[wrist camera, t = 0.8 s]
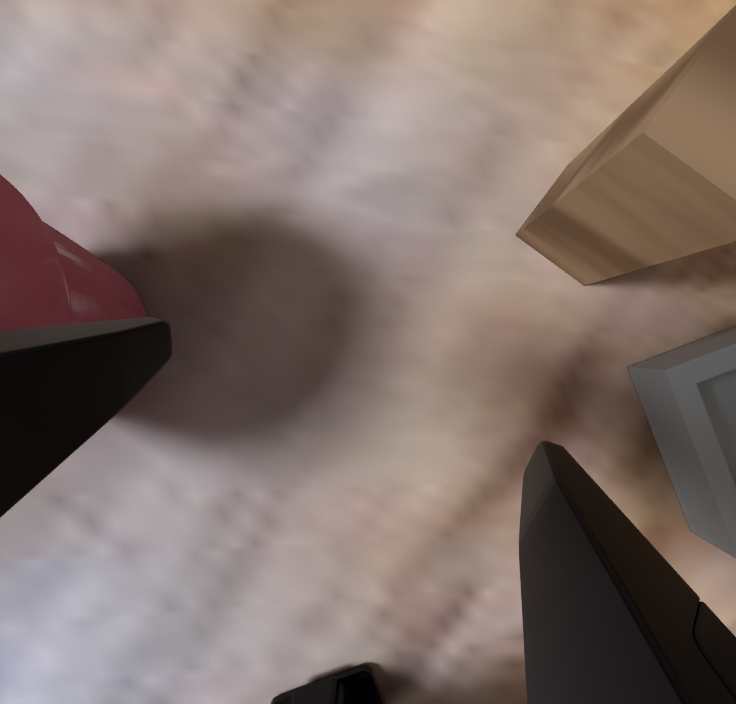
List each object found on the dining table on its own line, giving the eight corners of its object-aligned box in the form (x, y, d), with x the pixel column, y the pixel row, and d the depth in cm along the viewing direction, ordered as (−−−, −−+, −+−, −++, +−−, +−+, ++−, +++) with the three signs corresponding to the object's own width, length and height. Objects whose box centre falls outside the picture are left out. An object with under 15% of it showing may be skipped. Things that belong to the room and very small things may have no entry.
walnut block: (583, 285, 23) (776, 229, 12) (515, 235, 23) (642, 132, 12) (636, 216, 23) (879, 94, 12) (566, 165, 23) (744, -4, 12)
